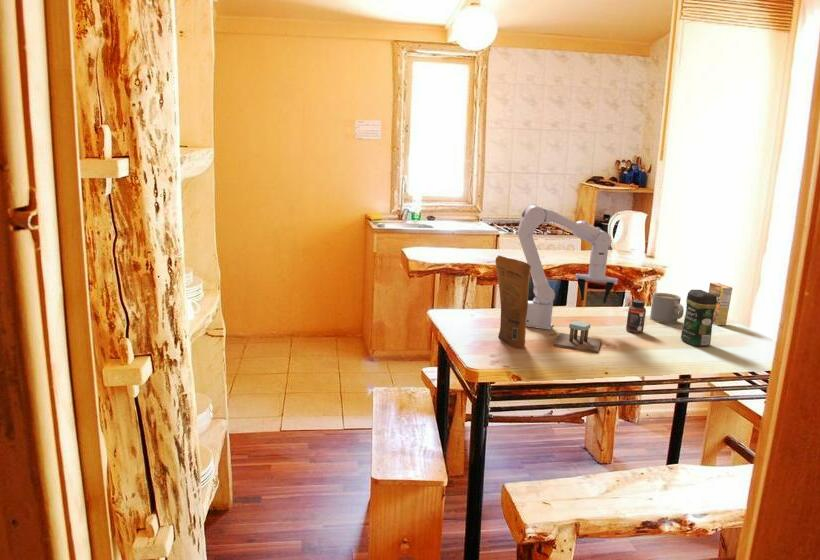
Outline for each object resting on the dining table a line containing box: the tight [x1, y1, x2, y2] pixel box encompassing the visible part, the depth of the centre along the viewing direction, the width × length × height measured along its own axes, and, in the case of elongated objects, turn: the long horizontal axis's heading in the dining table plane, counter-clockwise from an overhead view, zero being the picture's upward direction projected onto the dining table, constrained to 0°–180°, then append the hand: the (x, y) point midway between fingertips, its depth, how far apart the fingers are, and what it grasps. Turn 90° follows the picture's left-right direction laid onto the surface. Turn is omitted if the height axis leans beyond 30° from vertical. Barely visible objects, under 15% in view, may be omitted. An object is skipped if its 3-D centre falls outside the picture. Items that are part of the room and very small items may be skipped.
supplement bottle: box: [625, 299, 647, 334], centre depth 222 cm, size 6×6×11 cm
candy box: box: [707, 282, 733, 326], centre depth 240 cm, size 9×4×15 cm, turn 8°
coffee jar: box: [680, 289, 717, 348], centre depth 210 cm, size 10×8×19 cm
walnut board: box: [553, 332, 603, 354], centre depth 204 cm, size 14×14×1 cm
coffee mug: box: [649, 292, 685, 324], centre depth 238 cm, size 13×10×10 cm
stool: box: [568, 320, 592, 344], centre depth 203 cm, size 5×5×6 cm
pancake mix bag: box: [495, 255, 531, 350], centre depth 199 cm, size 7×19×28 cm, turn 19°
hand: (593, 301), depth 220 cm, fingers open, 7 cm apart
